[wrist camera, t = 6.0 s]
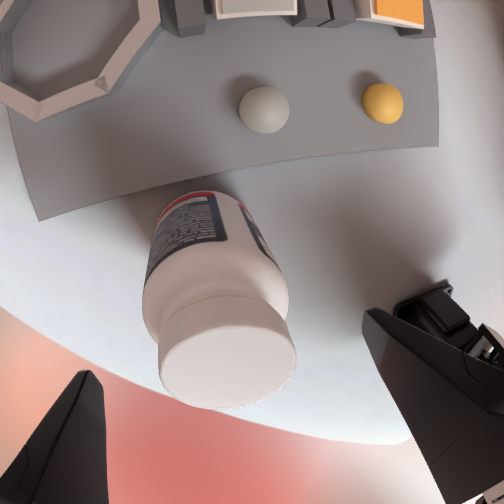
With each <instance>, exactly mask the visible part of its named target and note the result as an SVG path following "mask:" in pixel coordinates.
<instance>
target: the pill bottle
mask: <svg viewBox="0 0 504 504" xmlns="http://www.w3.org/2000/svg"><path fill="white" fill-rule="evenodd" d="M288 305H289V297H288V290H287V286H286V283H285V280H284V277H283V275H282V273H281V270H280V269H279V267H278V265H277V263H276V261H275V259H274V257H273V255H272V253H271V251H270V249H269V248H268V246H267V244H266V242H265V241H264V239H263V237H262V235H261V233H260V231H259V229H258V227H257V226H256V224H255V222H254V220H253V219H252V217H251V215H250V214H249V212H248V211H247V210H246V208H245V207H244V206H243V205H242V204H241V203H240V202H238V201H237V200H236V199H234V198H232V197H231V196H229V195H226V194H224V193H221V192H216V191H210V190H200V191H193V192H190V193H187V194H184V195H182V196H180V197H178V198H176V199H175V200H174V201H172V202H171V203H170V204H169V205H168V206H167V207H166V208H165V209H164V210H163V211H162V213H161V215H160V216H159V218H158V220H157V222H156V225H155V229H154V232H153V238H152V243H151V249H150V254H149V260H148V265H147V271H146V278H145V284H144V290H143V297H142V313H143V319H144V322H145V325H146V328H147V330H148V332H149V334H150V335H151V337H152V338H153V340H154V341H155V342H156V343H157V344H158V367H159V376H160V380H161V382H162V384H163V386H164V388H165V389H166V390H167V391H168V392H169V393H170V394H171V395H172V396H173V397H175V398H176V399H178V400H179V401H181V402H183V403H185V404H188V405H191V406H194V407H199V408H203V409H216V410H222V409H233V408H239V407H243V406H247V405H251V404H254V403H256V402H259V401H261V400H263V399H265V398H267V397H269V396H270V395H272V394H274V393H275V392H276V391H278V390H279V389H280V388H281V387H282V386H283V385H284V384H285V383H286V382H287V381H288V380H289V378H290V377H291V375H292V373H293V371H294V369H295V365H296V351H295V347H294V344H293V342H292V339H291V337H290V334H289V332H288V328H287V325H286V322H285V319H286V316H287V312H288Z"/></svg>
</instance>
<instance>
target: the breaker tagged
mask: <svg viewBox="0 0 504 504" xmlns="http://www.w3.org/2000/svg"><path fill="white" fill-rule="evenodd" d="M353 6H354V11H355V16H356V20H364V21H371V22H377V23H383V24H388V25H394V26H399V27H405V28H416V29H424V17H423V2H422V0H353Z"/></svg>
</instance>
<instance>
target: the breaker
mask: <svg viewBox="0 0 504 504" xmlns="http://www.w3.org/2000/svg"><path fill="white" fill-rule="evenodd" d="M210 2H211V11H212V18H215V19H225V18H235V17H247V16H265V15H297V0H210Z"/></svg>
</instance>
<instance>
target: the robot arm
mask: <svg viewBox="0 0 504 504" xmlns="http://www.w3.org/2000/svg"><path fill="white" fill-rule="evenodd" d="M452 291H453V287H452V286H451V285H450V284H447V285H445V286H442V287H440V288H438V289H435V290H433V291H430V292H428V293H425V294H423V295H420V296H417V297H415V298H412V299H410V300H407V301H404V302H402V303H399V304H398V305H397V306H396V308H395V311H394V315H391V314H389V313H387V312H385V311H383V310H381V309H379V308H376V307H375V308H371V309H368V310H366V311H365V312H364V316H363V323H362V334H363V337H364V339H365V341H366V343H367V346H368V348H369V350H370V353H371V355H372V358H373V360H374V362H375V365H376V367H377V369H378V372H379V374H380V375H381V377H382V379H383V381H384V383H385V385H386V386H387V388H388V390H389V392H390V394H391V395H392V397H393V399H394V401H395V403H396V405H397V407H398V408H399V410H400V412H401V414H402V416H403V418H404V420H405V422H406V423H407V425H408V427H409V429H410V431H411V433H412V435H413V437H414V439H415V441H416V443H417V445H418V447H419V448H420V450H421V453H422V455H423V457H424V459H425V461H426V463H427V465H428V467H429V469H430V471H431V473H432V475H433V477H434V479H435V482H436V484H437V486H438V488H439V490H440V492H441V494H442V496H443V499H444V501H445V503H446V504H462V503H464V502H466V501H468V500H470V499H472V498H474V497H476V496H477V495H479V494H481V493H482V494H483V496H482V497H480V498H479V499H478V500H477V501H476V503H475V504H504V339H503V338H502V337H501V336H500V335H499V334H498V333H497V332H496V331H495V330H493V329H491V328H490V327H488V326H487V325H485V324H483V323H482V324H481V325H480V327H479V328H478V329H479V330H478V329H477V328H476V327H475V326H474V325H473V324H472V323H471V322H470V317H469V315H468V314H467V313H466V312H465V311H464V310H463V309H462V308H461V307H460V306H459V305H458V304H457V303H456V302H455V301H454V300H453V299H452V298H451V294H452ZM492 346H493V347H494V349H493V351H492V352H491V353H489V352H488V351H489V350H490V348H491V347H492ZM107 486H108V484H107V463H106V420H105V407H104V391H103V387H102V384H101V383H100V382H99V380H98V379H97V378H96V377H95V375H94V374H93V372H92V371H90V370H81V371H79V372H78V373H77V374H76V375H75V376H74V378H73V379H72V380H71V382H70V383H69V384H68V386H67V387H66V388H65V389H64V391H63V392H62V394H61V395H60V396H59V397H58V399H57V400H56V402H55V403H54V405H53V406H52V407H51V408H50V410H49V411H48V412H47V414H46V415H45V417H44V418H43V419H42V421H41V422H40V424H39V425H38V426H37V428H36V429H35V431H34V432H33V434H32V435H31V436H30V438H29V439H28V441H27V442H26V444H25V445H24V446H23V448H22V450H21V451H20V452H19V454H18V455H17V457H16V458H15V459H14V461H13V462H12V463H11V465H10V466H9V467H8V469H7V470H6V471H5V473H4V474H3V475H2V476H1V478H0V504H109V499H108V487H107Z"/></svg>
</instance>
